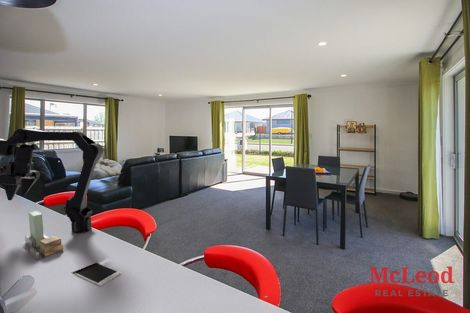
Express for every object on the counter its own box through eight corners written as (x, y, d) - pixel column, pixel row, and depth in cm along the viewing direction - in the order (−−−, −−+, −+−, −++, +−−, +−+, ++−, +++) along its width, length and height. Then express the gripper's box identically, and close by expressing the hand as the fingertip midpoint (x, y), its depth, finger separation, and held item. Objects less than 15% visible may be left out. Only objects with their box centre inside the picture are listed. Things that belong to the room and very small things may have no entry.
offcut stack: (58, 245, 92) (57, 234, 91) (63, 250, 89) (62, 238, 88) (40, 251, 87) (39, 240, 87) (44, 256, 84) (44, 244, 84)
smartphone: (90, 262, 84) (90, 259, 84) (121, 274, 77) (121, 272, 77) (68, 273, 78) (68, 270, 77) (100, 288, 71) (100, 284, 71)
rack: (46, 239, 99) (46, 229, 98) (64, 253, 88) (63, 243, 88) (21, 246, 92) (20, 236, 92) (36, 263, 82) (35, 251, 81)
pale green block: (39, 240, 96) (36, 210, 94) (44, 244, 92) (42, 214, 91) (31, 242, 94) (28, 212, 92) (36, 247, 90) (33, 215, 89)
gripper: (13, 154, 105) (7, 190, 105) (-20, 157, 87) (-26, 201, 87) (43, 158, 108) (37, 193, 108) (18, 162, 90) (11, 204, 90)
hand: (16, 197), depth 98 cm, fingers open, 9 cm apart
